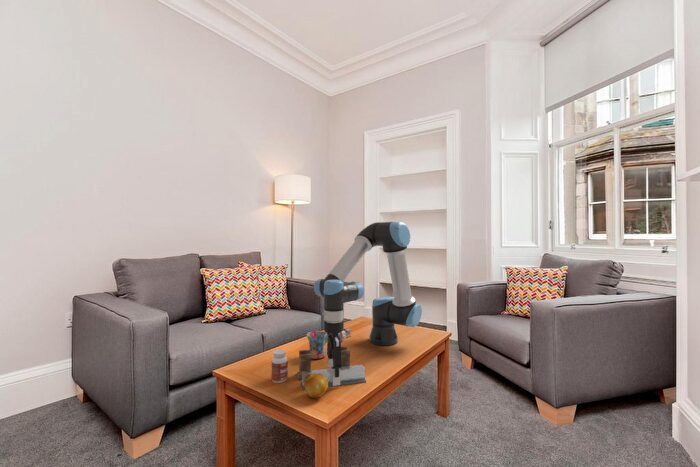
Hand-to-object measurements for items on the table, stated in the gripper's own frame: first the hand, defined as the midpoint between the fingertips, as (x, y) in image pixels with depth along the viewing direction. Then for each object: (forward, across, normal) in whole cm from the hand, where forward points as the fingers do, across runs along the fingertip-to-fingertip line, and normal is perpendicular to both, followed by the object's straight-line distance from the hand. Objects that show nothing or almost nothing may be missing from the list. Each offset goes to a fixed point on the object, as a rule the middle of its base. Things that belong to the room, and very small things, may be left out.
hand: (333, 380), depth 127 cm
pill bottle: (+1, -8, -20) cm, 22 cm away
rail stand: (+1, -9, -2) cm, 9 cm away
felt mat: (+1, 0, 0) cm, 1 cm away
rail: (0, 0, 0) cm, 0 cm away
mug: (+1, -29, -1) cm, 29 cm away
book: (+1, -52, +13) cm, 54 cm away
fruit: (+1, +9, -8) cm, 12 cm away
